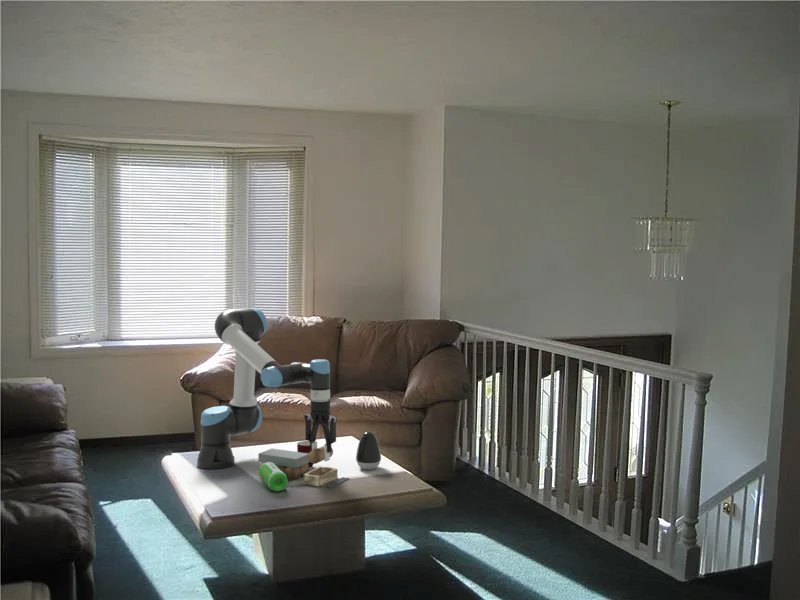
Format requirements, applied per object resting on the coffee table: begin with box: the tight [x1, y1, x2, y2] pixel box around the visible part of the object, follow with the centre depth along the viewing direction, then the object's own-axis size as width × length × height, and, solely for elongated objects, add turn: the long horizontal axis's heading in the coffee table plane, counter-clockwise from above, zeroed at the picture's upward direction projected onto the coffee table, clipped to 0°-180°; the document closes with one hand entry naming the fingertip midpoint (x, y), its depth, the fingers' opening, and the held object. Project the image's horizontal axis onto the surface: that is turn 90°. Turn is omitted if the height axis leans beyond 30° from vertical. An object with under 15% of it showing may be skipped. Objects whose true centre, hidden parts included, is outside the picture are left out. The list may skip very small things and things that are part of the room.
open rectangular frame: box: [302, 465, 338, 487], centre depth 285 cm, size 8×13×4 cm, turn 154°
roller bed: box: [258, 463, 310, 481], centre depth 293 cm, size 17×10×5 cm, turn 64°
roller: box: [308, 445, 334, 465], centre depth 285 cm, size 5×10×5 cm, turn 154°
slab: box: [257, 448, 309, 468], centre depth 292 cm, size 18×9×4 cm, turn 64°
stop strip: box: [324, 476, 350, 489], centre depth 282 cm, size 3×13×1 cm, turn 154°
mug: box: [296, 440, 314, 469], centre depth 303 cm, size 10×8×10 cm
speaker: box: [258, 462, 289, 492], centre depth 279 cm, size 18×7×8 cm, turn 25°
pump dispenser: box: [355, 431, 382, 471], centre depth 301 cm, size 10×10×15 cm
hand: (320, 459), depth 285 cm, fingers closed on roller, 5 cm apart
